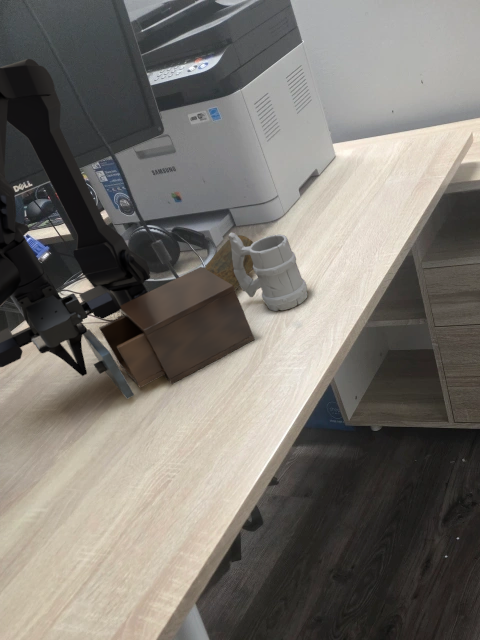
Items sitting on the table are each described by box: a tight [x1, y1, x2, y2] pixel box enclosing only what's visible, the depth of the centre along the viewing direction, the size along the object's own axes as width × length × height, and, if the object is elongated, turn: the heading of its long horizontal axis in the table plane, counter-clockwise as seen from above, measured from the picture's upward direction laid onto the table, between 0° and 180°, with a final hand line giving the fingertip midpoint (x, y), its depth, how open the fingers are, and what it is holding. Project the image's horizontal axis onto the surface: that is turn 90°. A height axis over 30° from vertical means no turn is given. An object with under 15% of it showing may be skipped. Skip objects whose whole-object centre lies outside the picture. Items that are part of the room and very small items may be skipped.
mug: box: [228, 232, 308, 312], centre depth 106 cm, size 8×12×12 cm, turn 73°
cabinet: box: [119, 266, 255, 384], centre depth 101 cm, size 15×13×9 cm
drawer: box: [82, 315, 165, 400], centre depth 98 cm, size 15×11×7 cm
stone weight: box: [203, 234, 254, 291], centre depth 117 cm, size 15×7×7 cm, turn 168°
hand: (84, 374), depth 100 cm, fingers closed
